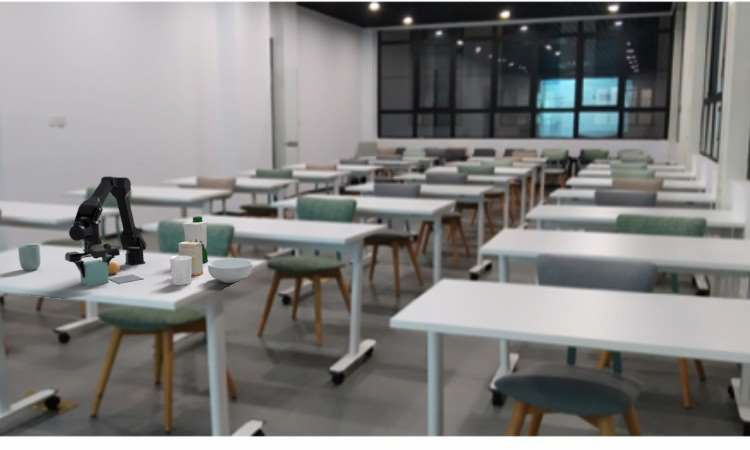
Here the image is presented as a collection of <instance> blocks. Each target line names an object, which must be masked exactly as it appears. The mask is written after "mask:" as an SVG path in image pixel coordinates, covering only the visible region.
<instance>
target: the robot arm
mask: <svg viewBox="0 0 750 450" xmlns="http://www.w3.org/2000/svg"><path fill="white" fill-rule="evenodd" d="M131 185H132V182H131V179H130V178H128V177H126V176H125V177H123V176H121V177H117V176H106V175H105V176H102V177H101V179H100V183H99V184H98V185H97V187H96V189H95V190H94V191H93V193H92V194H91V196H90V197H89V198H88V199H85V200H83V201H82V203H81V204H80V205H79V206H78V208H77V211H76V214H75V217H74V221H73V226H71V227H70V228H69V231H68V236H69V237H70V238H71V239H72V240H73V241H75V242H79V241H82V242H83V248H82V251H83V252H79V251H69V252H66V253H65V256H64V260H65V261H67V262H69V263H73V264H75V266H76V267H77V269H78V271H79V273H81V275H82V277H83V278H85V273H84V266H83V264H84V262H85V261H84V260H83V259H84V258H93V259H96V260H98V259H100V258H101V261H104V262H106V263H107V266H108V265H109V263H110V262H112V260H113V259H115V258H116V257H117V256H120V253H121V252H120V249H119V248H118V247H116V246H112V245H111V244H110V243H104V244H103V243H102V239H101V235H100V224H101V223H102V220H101V219H100V217H101V215H102V213H103V204H104V203H105V201H106V199H107V198H108V197H109V195H110V194H111V195H112V197H113V198H114V199H116V204H117V208H118V212H119V216H120V217H119V218H120V222H121V225H122V231H121V233H120V235H119V238H120V244H121V247H122V250H123V251H125V252H126V253H125V263H124V264H126V265H127V264H128V265H130V266H135V265H142V264H146V261H145V259H144V258H145V257H144V251H145V250H146V249H147V242H146V240H145V239H144V237H143V235H142V233H141V231H140V230H139V229H138V228H137V226H135V221H134V216H133V211H132V206H131V201H130V198H129V195H130V193H131V190H132V187H131ZM71 239H70V240H71Z"/></svg>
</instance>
